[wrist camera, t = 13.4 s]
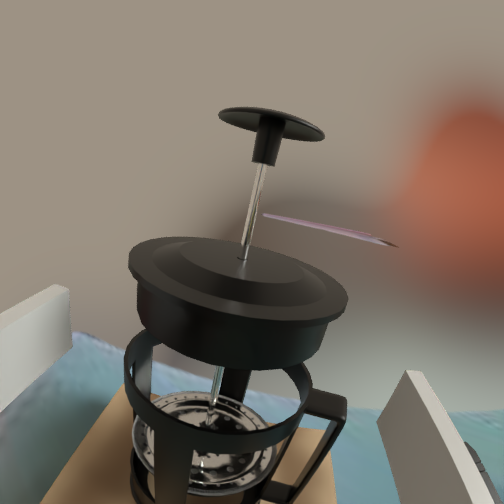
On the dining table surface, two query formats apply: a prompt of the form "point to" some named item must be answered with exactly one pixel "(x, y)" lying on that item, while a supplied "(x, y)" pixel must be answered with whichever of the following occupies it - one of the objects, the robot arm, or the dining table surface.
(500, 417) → the dining table surface
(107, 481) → the oak base
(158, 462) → the french press
